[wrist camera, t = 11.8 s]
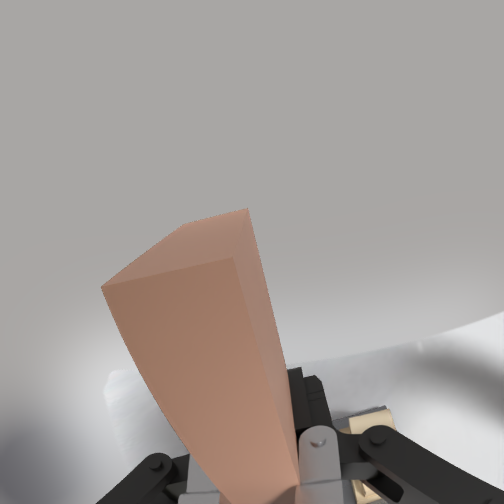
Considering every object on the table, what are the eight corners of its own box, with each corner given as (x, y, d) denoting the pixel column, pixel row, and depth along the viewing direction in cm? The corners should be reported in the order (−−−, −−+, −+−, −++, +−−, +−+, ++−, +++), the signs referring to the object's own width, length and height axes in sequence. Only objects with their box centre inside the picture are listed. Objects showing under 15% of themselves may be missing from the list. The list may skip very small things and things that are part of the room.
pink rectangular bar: (285, 499, 14) (183, 224, 9) (315, 494, 14) (247, 207, 9) (288, 559, 9) (100, 286, 4) (323, 554, 9) (232, 257, 4)
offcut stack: (339, 436, 29) (338, 414, 28) (384, 422, 29) (386, 400, 27) (356, 506, 18) (358, 491, 17) (410, 488, 18) (418, 470, 17)
